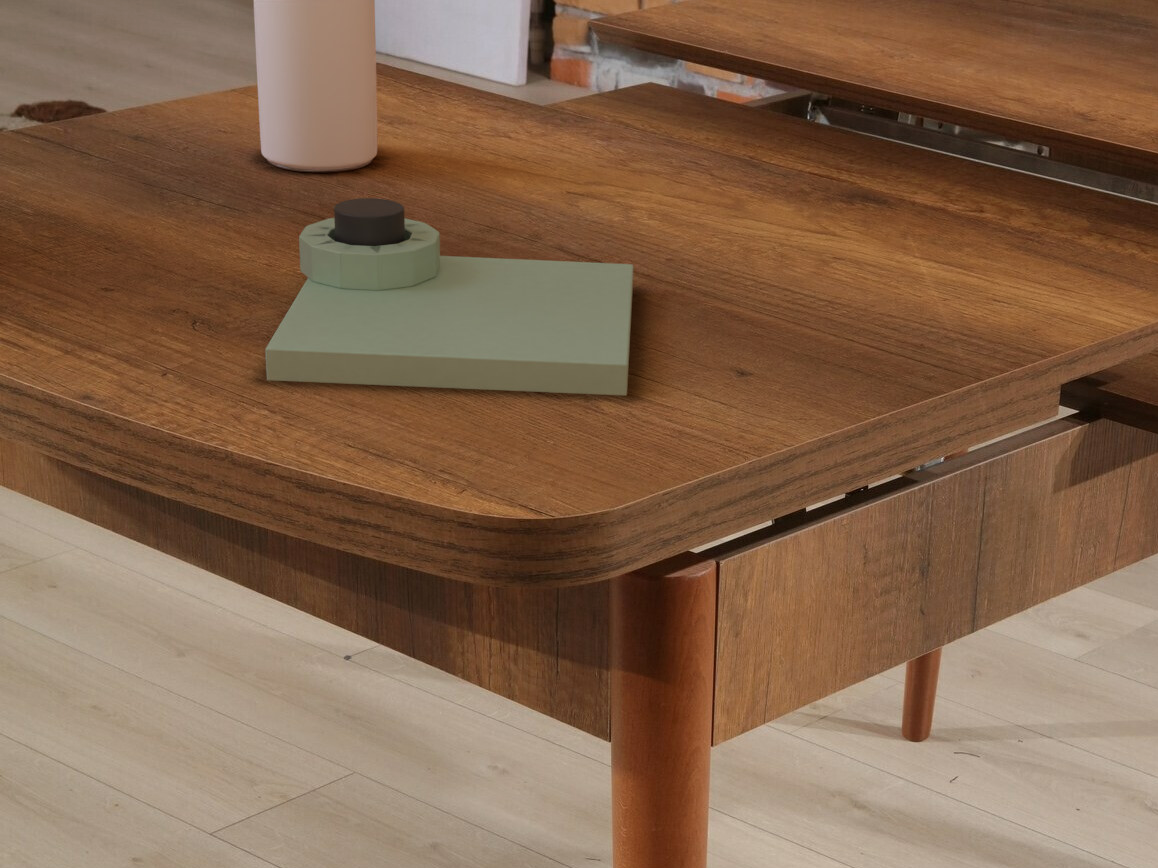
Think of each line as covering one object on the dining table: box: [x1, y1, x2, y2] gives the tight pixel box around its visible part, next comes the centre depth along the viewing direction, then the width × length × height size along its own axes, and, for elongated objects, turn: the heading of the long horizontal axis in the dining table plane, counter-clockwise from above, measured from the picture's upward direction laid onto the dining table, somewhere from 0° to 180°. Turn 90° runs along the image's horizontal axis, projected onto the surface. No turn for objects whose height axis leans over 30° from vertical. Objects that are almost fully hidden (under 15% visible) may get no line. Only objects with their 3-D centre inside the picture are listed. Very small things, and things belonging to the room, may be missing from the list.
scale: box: [264, 217, 635, 397], centre depth 75 cm, size 14×14×3 cm
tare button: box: [333, 197, 406, 246], centre depth 77 cm, size 3×3×2 cm
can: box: [253, 0, 378, 174], centre depth 98 cm, size 6×6×12 cm
